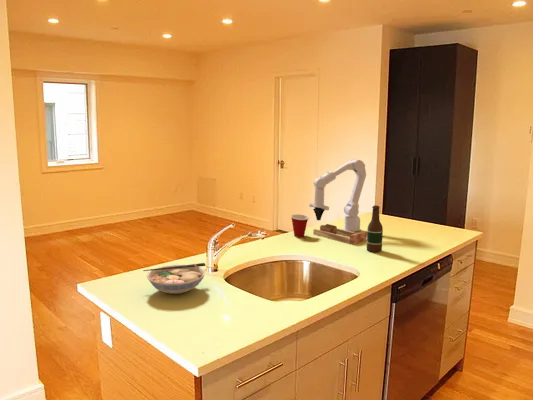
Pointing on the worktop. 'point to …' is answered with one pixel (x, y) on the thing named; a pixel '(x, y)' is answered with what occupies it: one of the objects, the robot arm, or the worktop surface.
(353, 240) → the bay
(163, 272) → the ramen bowl
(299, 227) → the plastic cup
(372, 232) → the beer bottle
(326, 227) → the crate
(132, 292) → the worktop surface
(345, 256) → the worktop surface
